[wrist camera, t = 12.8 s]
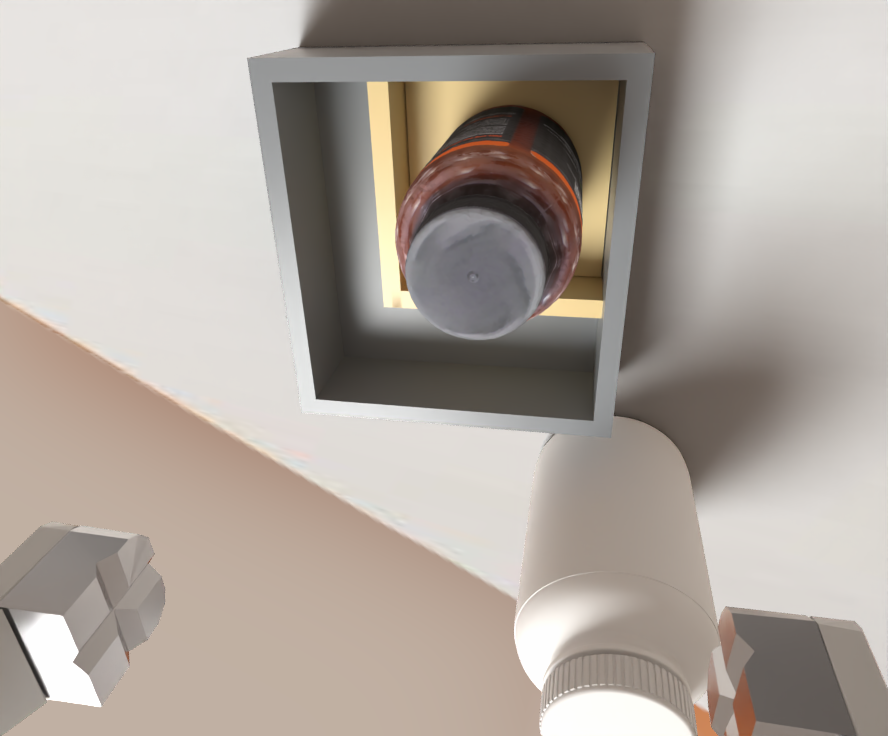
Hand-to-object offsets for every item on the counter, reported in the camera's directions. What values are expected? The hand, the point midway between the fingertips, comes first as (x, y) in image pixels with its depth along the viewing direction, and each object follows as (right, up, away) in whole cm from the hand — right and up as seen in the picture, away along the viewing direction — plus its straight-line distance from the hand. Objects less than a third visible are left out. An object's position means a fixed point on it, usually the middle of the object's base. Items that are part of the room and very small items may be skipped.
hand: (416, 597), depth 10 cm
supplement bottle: (+3, +11, +19) cm, 22 cm away
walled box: (+1, +10, +21) cm, 23 cm away
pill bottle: (+9, -2, +27) cm, 28 cm away
